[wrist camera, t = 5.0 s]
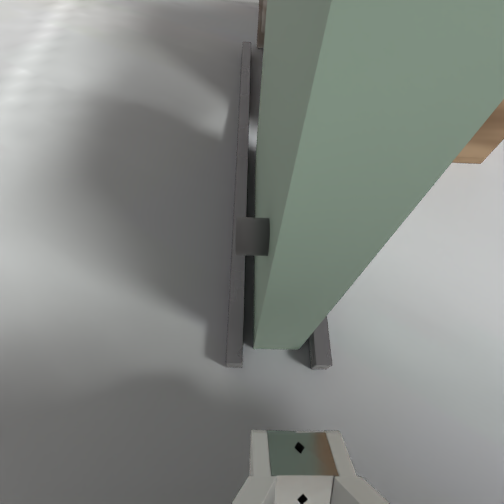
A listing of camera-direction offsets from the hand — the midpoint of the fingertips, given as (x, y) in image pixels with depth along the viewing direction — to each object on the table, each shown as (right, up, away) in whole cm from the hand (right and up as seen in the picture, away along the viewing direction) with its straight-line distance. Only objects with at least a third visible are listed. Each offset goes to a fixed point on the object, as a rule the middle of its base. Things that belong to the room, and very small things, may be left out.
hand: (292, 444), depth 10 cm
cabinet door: (0, +7, +10) cm, 12 cm away
